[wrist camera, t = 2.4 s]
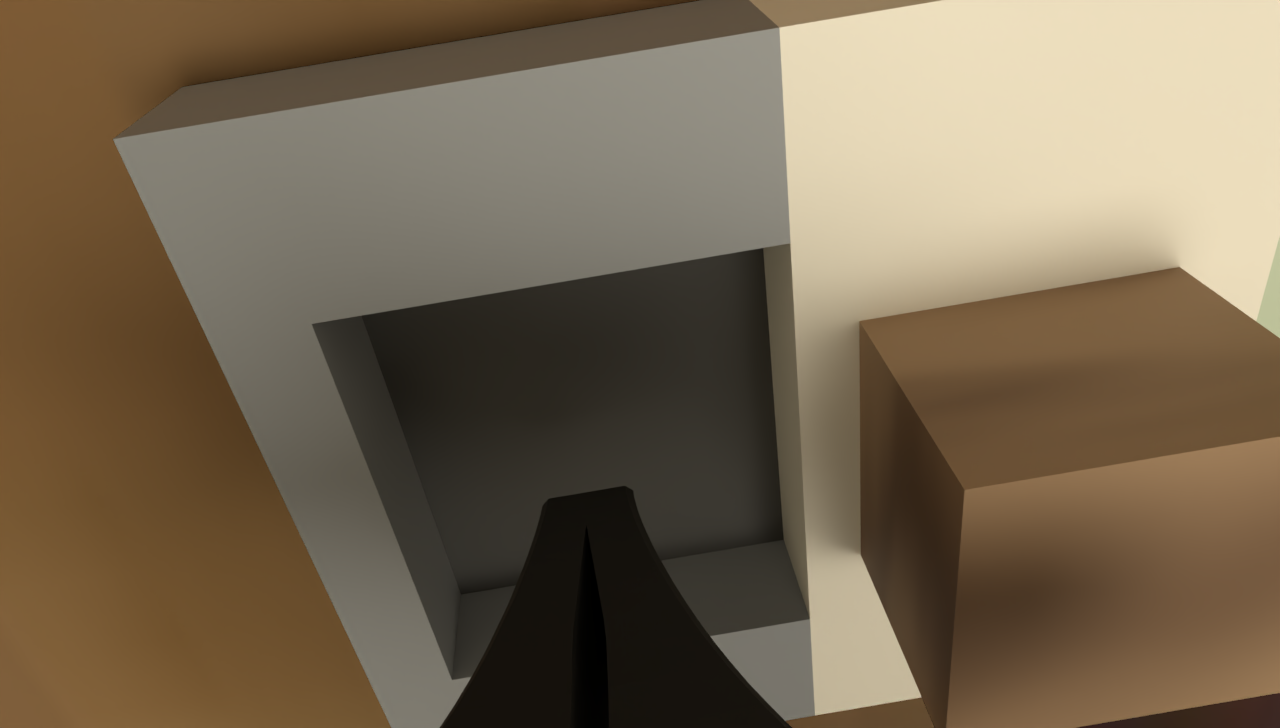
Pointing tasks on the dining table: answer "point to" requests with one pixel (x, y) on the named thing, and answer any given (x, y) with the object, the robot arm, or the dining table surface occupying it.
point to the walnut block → (1075, 501)
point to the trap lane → (675, 281)
